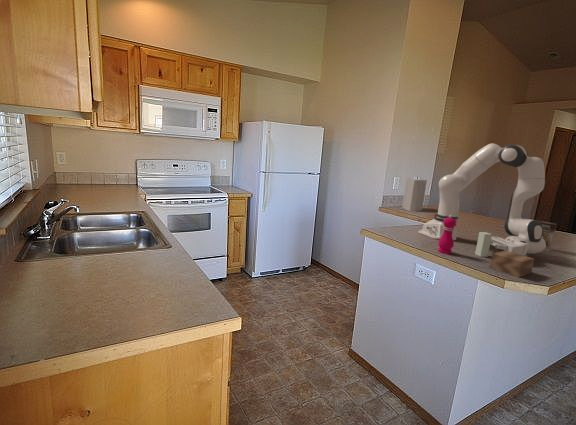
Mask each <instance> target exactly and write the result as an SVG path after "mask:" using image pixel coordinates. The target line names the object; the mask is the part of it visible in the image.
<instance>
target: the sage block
mask: <svg viewBox="0 0 576 425" xmlns="http://www.w3.org/2000/svg"><path fill="white" fill-rule="evenodd" d="M492 236H493V234H492V233H490V232H486V231H482V232H481V231H479V233H478V237H477V243H476V247H475V252H474V254H475V255H476V256H478V257H482V258H488V257H489V252H490V247H491V244H490V242H491V237H492Z"/></svg>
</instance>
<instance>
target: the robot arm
mask: <svg viewBox="0 0 576 425" xmlns="http://www.w3.org/2000/svg"><path fill="white" fill-rule="evenodd" d="M499 162H500V163H501V164H502V165H505V166H508V167H512V168H516V169H517V171H518V176H517V177H518V178H517V185H516V187H515V189H514V190H513V191H512V194H511V198H510V202H509V207H508V213H507V218H506V220H505V222H504V231H505V232H506V234H508V235H509V236H507V237H506V238H502V237H500V236H496V235H494V236H493V235H492V237H491V242H490V246H493V247H494V248H495V249H498V250H502V251H509V252H513V253H516V254H520V255H523V256H527V255H528V254H533V255H534V254H539V253H542V252H544V251H543V250H544V249H545V247H546V242H545V240H544V239H543V237H542V235H543V226H542V224H541V223H540V222H539V221H540V220H537V219H529V218H522V213H523V206H524V203H525V202H526V201H527V200H528V199H530V198H533V197H535V196H537V195H539V194H540V193H541V192H542V191H544V189H545V184H546V171H545V169H546V168H545V164H544V161H543V159H542V158H541V157H537V156H528V151H527V149H526V148H524V147H523V146H521V145H518V144H508V145H507V144H506V145H505V146H504V147H501V146H500V145H498V144H497V143H488V144H487V145H485V146H483V147H481V148H480V149H478V150H477V151H476V152H474V153H473V154H472V155H471V156H470V157H469V158H468V159H466V160H465V161H464V162H463V163H461V165H460V166H459V167H458V168H457V169H456V170H455V171H454V173H451V174H447V175H444V176H442V177H441V178H440V179H439V181H438V188H439V190H438V191H439V202H438V208H437V209H438V210H437V213H435V214H433V217H434V218H433V219H431V220H428V221H427V222H425V223H424V224H423V226H422V228H421V229H419V230H418V231H417V233H419V234H421V235H424V236H426V237H429V238H431V239H436V240H440V238H441V237H442V235H443V232H444V229H443V228H444V224H443V221H444V219H445V218H449V215H452V216H453V217H452V218H453V219H455V220H456V226H454V231H453V232H452V238H453V241H456V240H457V225H458V220H459V210H460V192H461V191H463V190H465V189H466V188H467V187H468V186H469V185H470V184H472V183H473V181H474V180H475V179H477V178H478V177H479V176H480V175H482V174H483V173H484V172H486V171H488V169H489V168H490V167H492V166H494V165H495V164H496V163H499Z"/></svg>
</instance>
